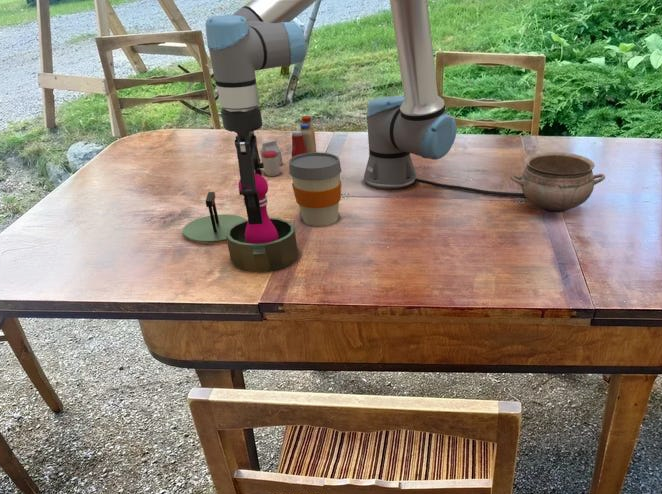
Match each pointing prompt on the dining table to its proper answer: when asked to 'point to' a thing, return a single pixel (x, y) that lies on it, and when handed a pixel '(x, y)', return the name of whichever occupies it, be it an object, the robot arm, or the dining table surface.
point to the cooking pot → (557, 180)
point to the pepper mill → (266, 229)
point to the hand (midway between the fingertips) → (257, 210)
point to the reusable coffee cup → (316, 186)
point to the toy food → (300, 145)
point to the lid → (210, 224)
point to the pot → (262, 248)
